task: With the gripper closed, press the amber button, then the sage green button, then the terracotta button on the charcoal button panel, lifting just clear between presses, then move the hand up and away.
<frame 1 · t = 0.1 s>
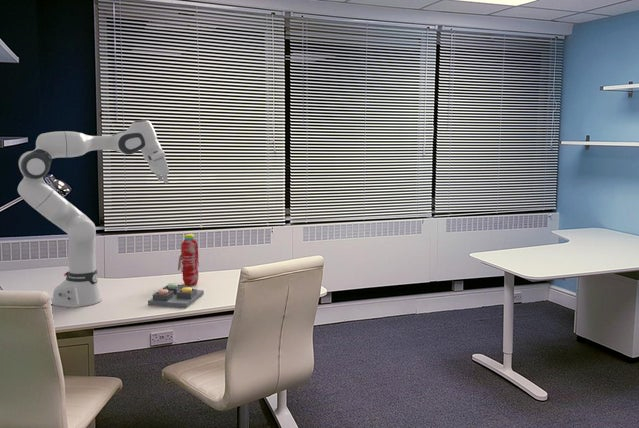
hand: (163, 181, 274), 52 cm above the table, fingers open, 8 cm apart
terracotta button: (163, 292, 263), point 4 cm above the table, slide at 0.0 cm
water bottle: (188, 284, 293), on the table
sage button: (172, 286, 273), point 4 cm above the table, slide at 0.0 cm
button panel: (176, 299, 268), on the table
amber button: (186, 290, 266), point 4 cm above the table, slide at 0.0 cm
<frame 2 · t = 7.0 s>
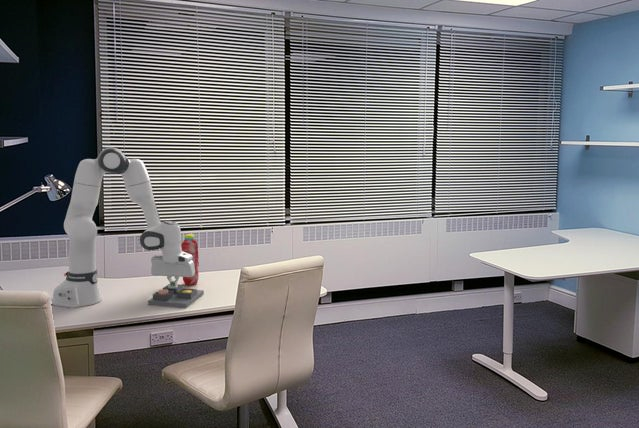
hand: (173, 285, 273), 5 cm above the table, fingers closed, pressing on sage button
sage button: (172, 287, 273), point 4 cm above the table, slide at 0.6 cm, touching gripper
amber button: (186, 293, 267), point 3 cm above the table, slide at 1.3 cm
everything else where it was.
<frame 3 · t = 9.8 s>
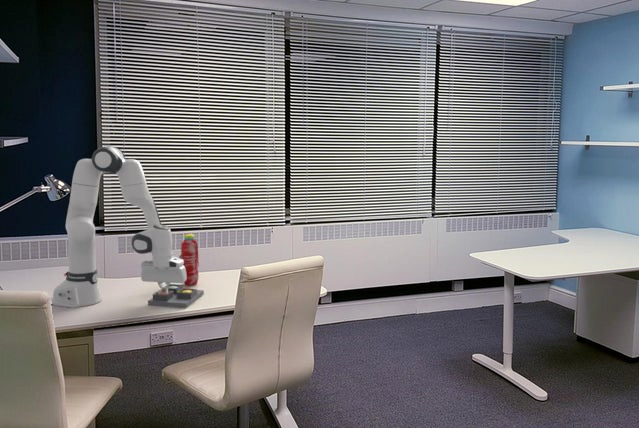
hand: (164, 291, 264), 5 cm above the table, fingers closed
terracotta button: (163, 294, 263), point 4 cm above the table, slide at 0.6 cm, touching gripper
sage button: (172, 289, 273), point 3 cm above the table, slide at 1.3 cm
everything else where it was.
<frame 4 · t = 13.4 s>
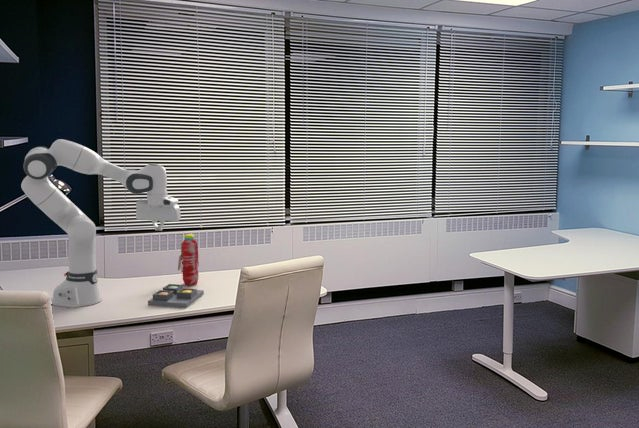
hand: (158, 230, 267), 31 cm above the table, fingers closed
terracotta button: (163, 295, 263), point 3 cm above the table, slide at 1.4 cm
everything else where it was.
at the end: amber button slide at 1.3 cm; sage button slide at 1.3 cm; terracotta button slide at 1.4 cm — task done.
